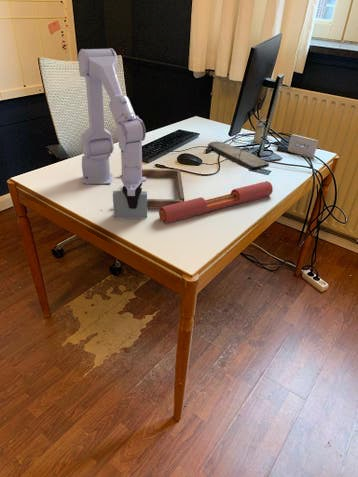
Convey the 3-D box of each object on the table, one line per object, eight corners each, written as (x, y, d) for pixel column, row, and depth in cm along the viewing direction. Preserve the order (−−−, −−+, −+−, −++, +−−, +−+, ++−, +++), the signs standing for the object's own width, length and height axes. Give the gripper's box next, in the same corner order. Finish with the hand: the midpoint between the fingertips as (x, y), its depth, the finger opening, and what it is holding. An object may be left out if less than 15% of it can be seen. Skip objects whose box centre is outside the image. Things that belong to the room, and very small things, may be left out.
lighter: (257, 143, 168) (261, 122, 162) (251, 141, 170) (254, 120, 164) (266, 140, 172) (270, 119, 166) (259, 138, 174) (263, 117, 169)
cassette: (314, 157, 157) (318, 140, 153) (312, 158, 156) (317, 141, 151) (288, 150, 163) (292, 133, 158) (286, 151, 162) (290, 134, 157)
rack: (116, 207, 113) (116, 199, 112) (122, 174, 133) (121, 167, 131) (184, 208, 115) (184, 199, 113) (179, 175, 135) (179, 168, 133)
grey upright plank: (147, 217, 109) (146, 194, 105) (114, 217, 108) (112, 194, 104) (147, 214, 111) (147, 191, 106) (114, 214, 110) (113, 191, 106)
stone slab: (222, 139, 165) (271, 159, 145) (222, 145, 167) (270, 166, 147) (205, 143, 160) (253, 164, 140) (205, 150, 162) (252, 172, 142)
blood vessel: (261, 191, 128) (264, 178, 125) (271, 197, 124) (274, 184, 122) (158, 218, 110) (158, 204, 107) (166, 226, 106) (166, 212, 103)
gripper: (145, 175, 94) (146, 218, 102) (146, 154, 106) (146, 194, 114) (118, 174, 94) (121, 218, 102) (122, 153, 106) (124, 194, 113)
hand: (133, 205), depth 108 cm, fingers closed on grey upright plank, 2 cm apart
